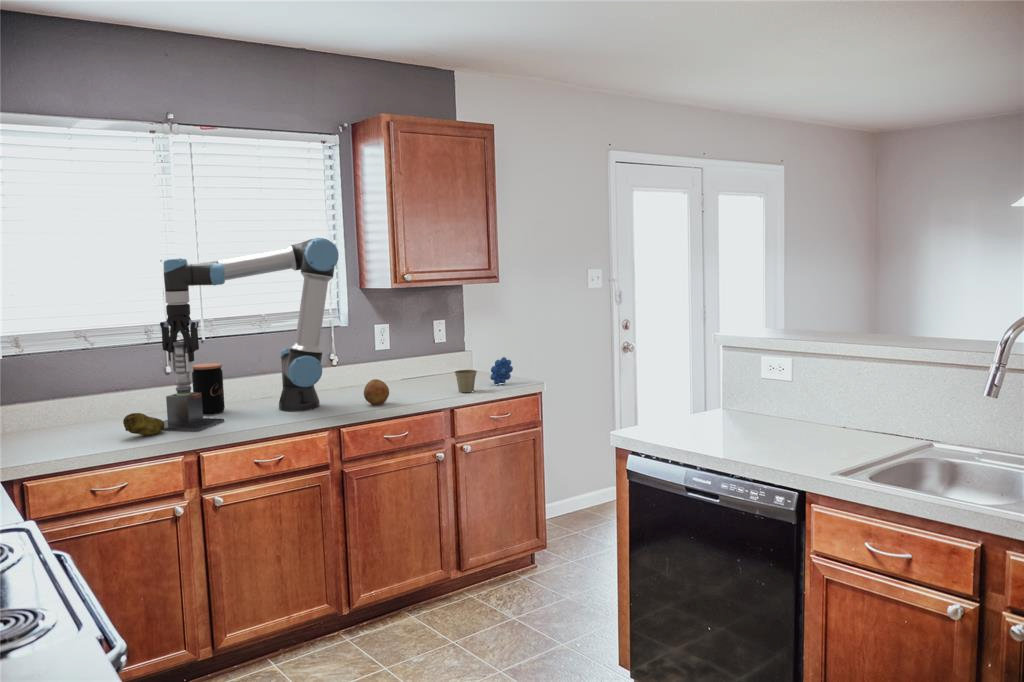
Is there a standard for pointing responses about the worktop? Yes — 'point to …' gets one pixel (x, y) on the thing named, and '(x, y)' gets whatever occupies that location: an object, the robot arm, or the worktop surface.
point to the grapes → (501, 371)
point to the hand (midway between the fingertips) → (182, 370)
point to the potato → (142, 424)
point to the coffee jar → (209, 386)
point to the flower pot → (465, 380)
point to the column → (181, 369)
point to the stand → (187, 414)
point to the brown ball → (376, 392)
